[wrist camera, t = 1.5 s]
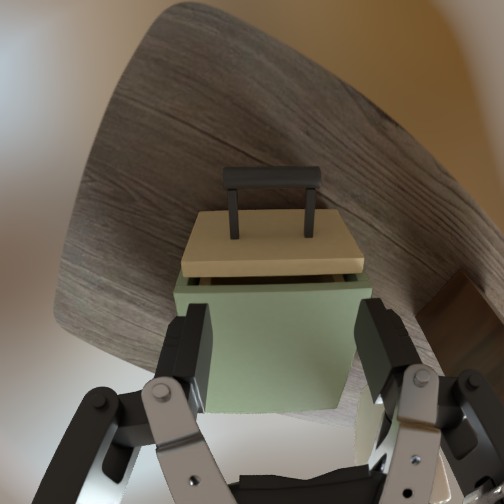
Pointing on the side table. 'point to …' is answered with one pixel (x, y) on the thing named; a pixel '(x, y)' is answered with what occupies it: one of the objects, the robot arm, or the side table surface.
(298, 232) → the drawer
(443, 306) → the stand
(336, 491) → the robot arm
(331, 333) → the cabinet
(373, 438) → the cup
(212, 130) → the side table surface
